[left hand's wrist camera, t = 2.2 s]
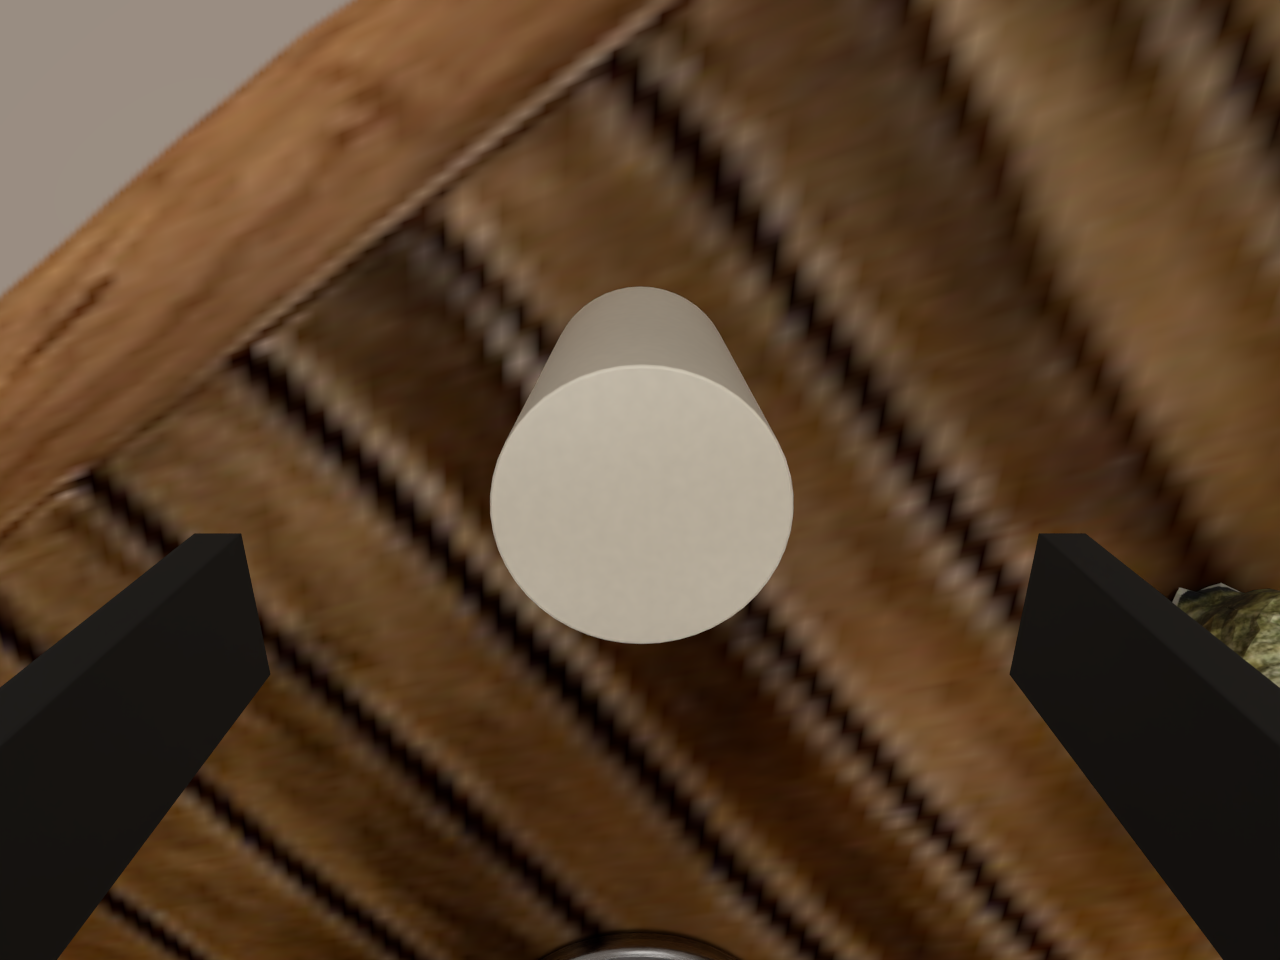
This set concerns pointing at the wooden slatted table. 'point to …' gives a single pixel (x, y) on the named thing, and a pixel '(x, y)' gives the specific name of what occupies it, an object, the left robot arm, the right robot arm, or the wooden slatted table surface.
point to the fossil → (1239, 622)
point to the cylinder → (641, 476)
